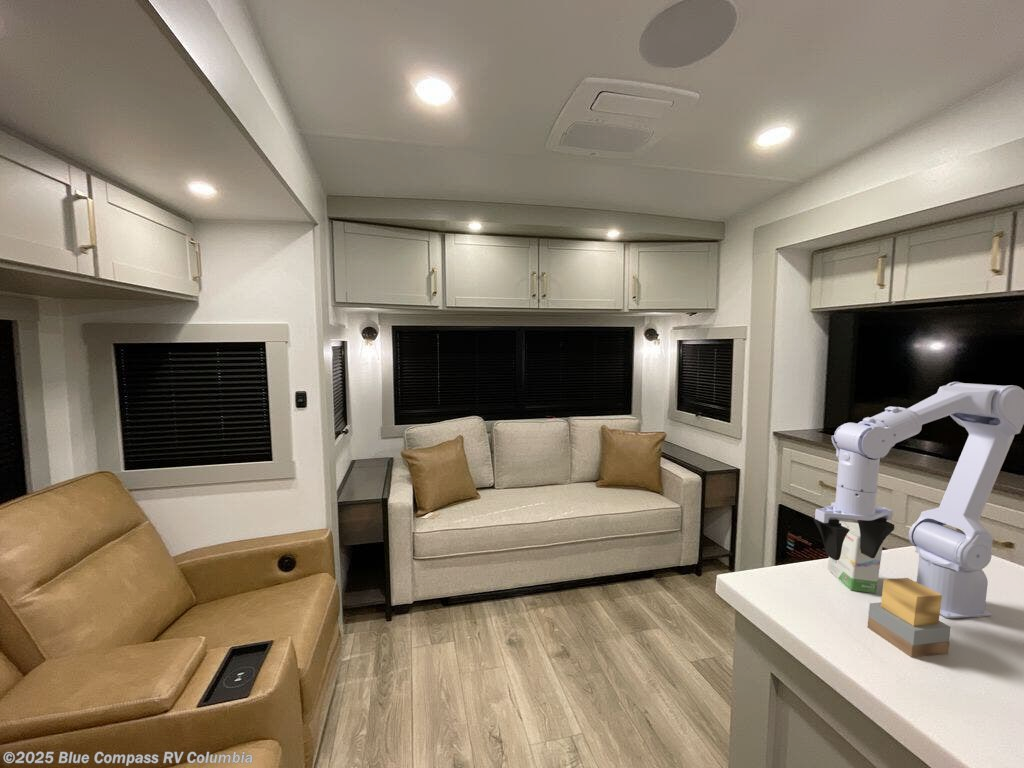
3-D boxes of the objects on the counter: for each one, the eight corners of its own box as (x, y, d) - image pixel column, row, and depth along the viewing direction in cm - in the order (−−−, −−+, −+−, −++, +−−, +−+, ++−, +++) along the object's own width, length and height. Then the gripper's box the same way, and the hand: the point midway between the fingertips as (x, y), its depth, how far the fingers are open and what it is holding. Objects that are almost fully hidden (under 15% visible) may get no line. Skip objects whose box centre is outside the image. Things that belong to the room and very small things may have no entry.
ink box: (826, 569, 90) (830, 519, 89) (852, 571, 89) (856, 521, 88) (850, 591, 82) (855, 536, 81) (879, 594, 81) (884, 539, 80)
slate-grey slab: (901, 613, 72) (902, 600, 71) (949, 641, 65) (950, 627, 64) (868, 616, 71) (869, 603, 70) (913, 645, 64) (914, 630, 63)
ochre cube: (904, 604, 70) (907, 577, 70) (938, 623, 65) (942, 595, 65) (880, 606, 69) (883, 579, 69) (913, 625, 64) (916, 596, 64)
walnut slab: (901, 626, 72) (902, 613, 71) (947, 656, 65) (949, 642, 65) (867, 629, 71) (868, 616, 71) (910, 659, 64) (912, 645, 64)
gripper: (868, 479, 79) (862, 544, 80) (803, 481, 77) (798, 547, 78) (907, 491, 72) (900, 563, 73) (837, 494, 70) (831, 566, 71)
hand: (850, 556), depth 75 cm, fingers open, 7 cm apart
